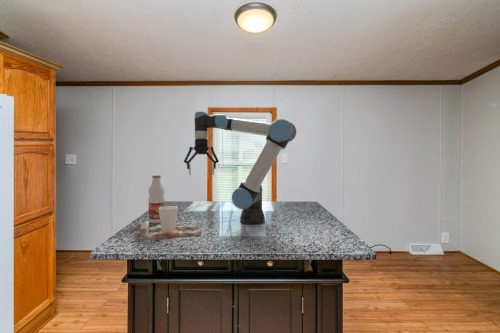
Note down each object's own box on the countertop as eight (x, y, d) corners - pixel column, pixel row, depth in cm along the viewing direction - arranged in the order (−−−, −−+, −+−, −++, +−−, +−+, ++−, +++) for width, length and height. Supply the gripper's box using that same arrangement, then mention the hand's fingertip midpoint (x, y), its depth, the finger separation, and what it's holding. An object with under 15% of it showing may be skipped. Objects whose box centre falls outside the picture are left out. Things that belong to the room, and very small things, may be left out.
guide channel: (198, 227, 164) (198, 218, 163) (201, 235, 149) (201, 225, 149) (143, 231, 156) (142, 222, 156) (140, 239, 142) (139, 229, 141)
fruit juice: (167, 221, 178) (167, 175, 177) (153, 224, 172) (152, 176, 171) (160, 219, 185) (160, 174, 184) (146, 221, 179) (145, 175, 178)
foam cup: (155, 234, 150) (154, 208, 149) (166, 229, 158) (166, 205, 158) (170, 236, 146) (170, 209, 146) (181, 231, 155) (181, 206, 154)
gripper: (221, 139, 180) (221, 173, 181) (179, 138, 174) (179, 174, 175) (223, 138, 173) (223, 174, 174) (179, 137, 167) (180, 175, 167)
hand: (201, 174), depth 174 cm, fingers open, 13 cm apart
